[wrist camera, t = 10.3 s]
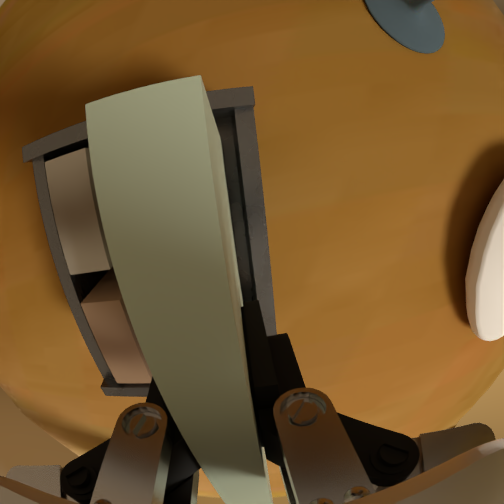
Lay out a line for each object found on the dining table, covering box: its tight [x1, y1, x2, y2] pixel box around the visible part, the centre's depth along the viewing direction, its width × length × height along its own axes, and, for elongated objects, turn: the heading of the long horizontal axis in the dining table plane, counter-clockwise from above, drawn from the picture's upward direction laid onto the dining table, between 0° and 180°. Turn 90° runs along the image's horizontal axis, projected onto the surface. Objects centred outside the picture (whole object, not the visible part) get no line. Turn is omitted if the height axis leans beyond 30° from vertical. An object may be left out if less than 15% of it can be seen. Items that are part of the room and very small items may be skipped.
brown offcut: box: [45, 148, 113, 275], centre depth 17 cm, size 7×3×8 cm, turn 6°
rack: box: [22, 86, 277, 397], centre depth 19 cm, size 19×14×9 cm
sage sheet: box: [85, 75, 273, 504], centre depth 13 cm, size 14×1×18 cm, turn 6°
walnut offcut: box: [81, 267, 152, 383], centre depth 20 cm, size 7×3×8 cm, turn 7°
